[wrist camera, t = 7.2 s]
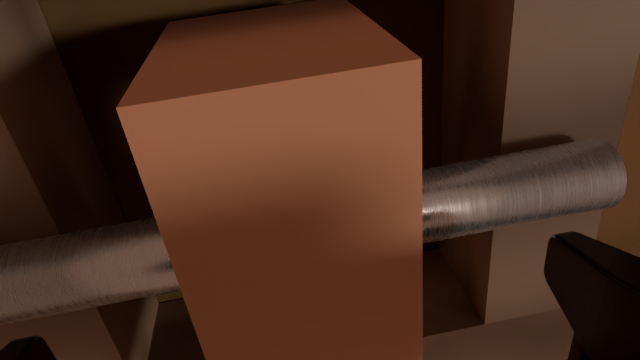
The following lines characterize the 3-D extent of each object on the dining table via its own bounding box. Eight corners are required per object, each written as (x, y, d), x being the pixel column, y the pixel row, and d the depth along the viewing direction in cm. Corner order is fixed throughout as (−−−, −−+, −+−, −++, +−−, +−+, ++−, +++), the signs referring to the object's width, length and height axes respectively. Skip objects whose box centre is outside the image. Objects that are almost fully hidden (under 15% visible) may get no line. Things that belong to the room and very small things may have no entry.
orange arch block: (364, 260, 15) (423, 419, 10) (239, 283, 15) (241, 459, 10) (341, -4, 11) (421, 58, 6) (168, 21, 11) (115, 107, 6)
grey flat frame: (511, 284, 18) (567, 359, 15) (95, 368, 17) (65, 468, 14) (576, -224, 11) (717, -280, 7) (-181, -135, 9) (-386, -158, 6)
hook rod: (572, 185, 12) (617, 221, 10) (-9, 294, 11) (-45, 351, 9) (583, 126, 11) (633, 157, 10) (-45, 238, 10) (-91, 291, 8)
